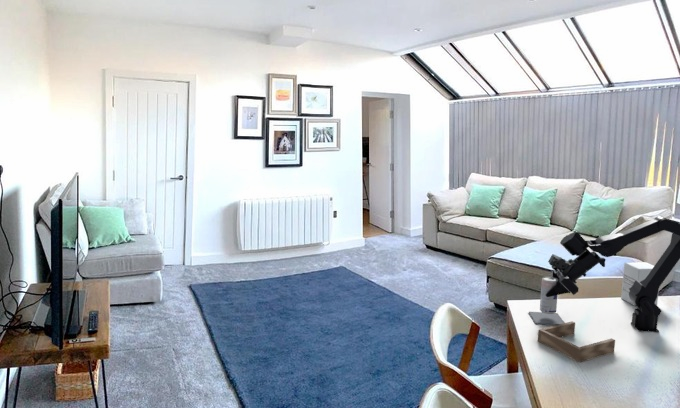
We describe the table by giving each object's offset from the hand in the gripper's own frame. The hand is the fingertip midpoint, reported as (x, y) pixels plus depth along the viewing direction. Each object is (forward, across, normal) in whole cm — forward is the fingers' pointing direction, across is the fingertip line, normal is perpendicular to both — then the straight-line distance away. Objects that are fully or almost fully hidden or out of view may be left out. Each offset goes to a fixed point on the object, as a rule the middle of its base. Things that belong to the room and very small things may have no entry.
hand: (545, 293), depth 171 cm
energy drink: (+4, 0, +6) cm, 7 cm away
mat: (+6, 0, +8) cm, 10 cm away
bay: (+2, +21, +11) cm, 24 cm away
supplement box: (-20, -27, +35) cm, 48 cm away
